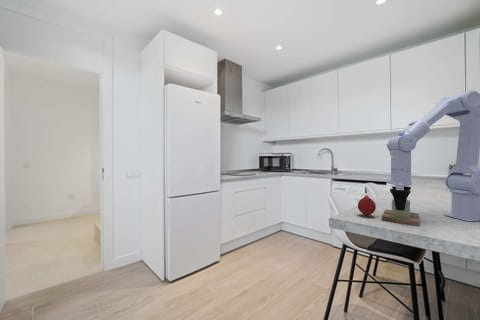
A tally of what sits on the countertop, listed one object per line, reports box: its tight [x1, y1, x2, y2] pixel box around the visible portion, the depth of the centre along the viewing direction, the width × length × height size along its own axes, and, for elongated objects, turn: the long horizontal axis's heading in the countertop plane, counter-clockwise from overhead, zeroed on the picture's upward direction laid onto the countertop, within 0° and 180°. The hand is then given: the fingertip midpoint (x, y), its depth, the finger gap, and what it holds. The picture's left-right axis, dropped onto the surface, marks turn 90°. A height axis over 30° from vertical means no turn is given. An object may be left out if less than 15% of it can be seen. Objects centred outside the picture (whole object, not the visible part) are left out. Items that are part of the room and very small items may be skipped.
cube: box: [391, 198, 411, 218], centre depth 76 cm, size 5×5×5 cm
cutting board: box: [381, 209, 420, 227], centre depth 76 cm, size 12×10×2 cm
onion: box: [357, 194, 377, 217], centre depth 80 cm, size 6×6×8 cm
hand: (400, 208), depth 76 cm, fingers open, 7 cm apart
